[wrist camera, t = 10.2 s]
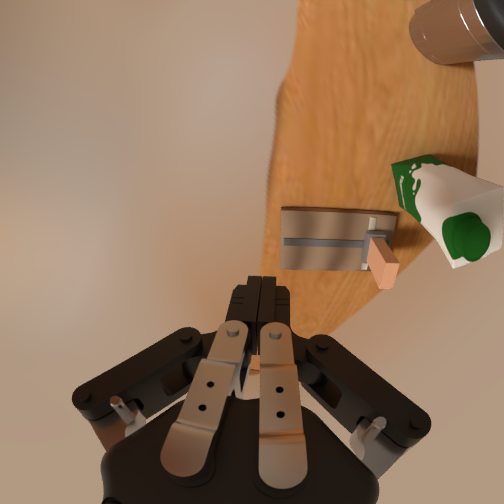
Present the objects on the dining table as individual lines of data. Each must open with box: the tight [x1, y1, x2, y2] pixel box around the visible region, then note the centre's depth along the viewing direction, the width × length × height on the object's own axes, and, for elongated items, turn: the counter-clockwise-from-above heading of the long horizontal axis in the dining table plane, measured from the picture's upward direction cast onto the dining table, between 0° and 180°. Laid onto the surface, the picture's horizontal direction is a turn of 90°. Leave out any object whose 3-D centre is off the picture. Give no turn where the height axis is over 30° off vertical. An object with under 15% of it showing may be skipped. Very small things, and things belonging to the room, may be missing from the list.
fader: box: [361, 231, 399, 289], centre depth 36 cm, size 3×5×8 cm, turn 1°
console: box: [280, 207, 397, 271], centre depth 41 cm, size 18×10×2 cm, turn 91°
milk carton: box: [391, 155, 504, 268], centre depth 27 cm, size 9×9×20 cm
